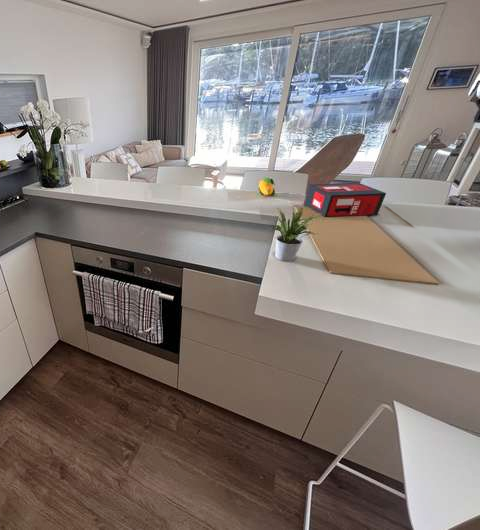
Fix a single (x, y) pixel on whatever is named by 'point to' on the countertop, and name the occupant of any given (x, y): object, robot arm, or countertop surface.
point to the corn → (267, 187)
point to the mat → (361, 249)
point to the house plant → (291, 235)
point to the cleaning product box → (344, 199)
